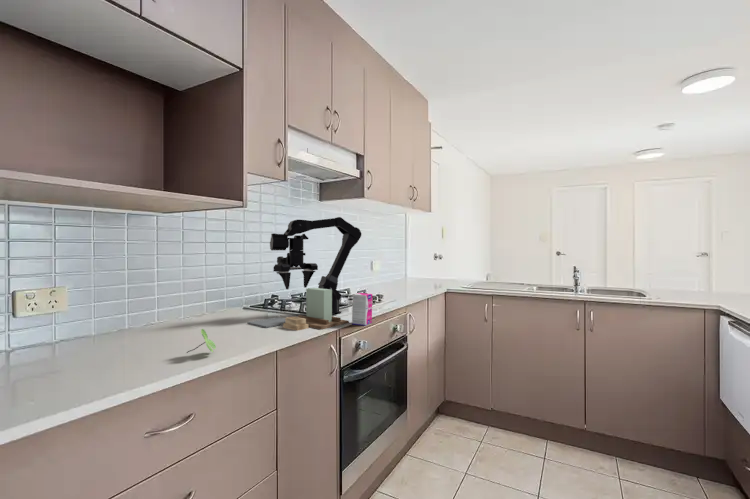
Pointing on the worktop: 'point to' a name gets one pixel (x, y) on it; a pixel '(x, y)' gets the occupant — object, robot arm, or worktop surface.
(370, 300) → the supplement box
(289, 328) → the offcut lower
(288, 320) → the offcut upper
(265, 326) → the mat
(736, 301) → the worktop surface
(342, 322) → the rack
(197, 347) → the seedling
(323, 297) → the sage green block
